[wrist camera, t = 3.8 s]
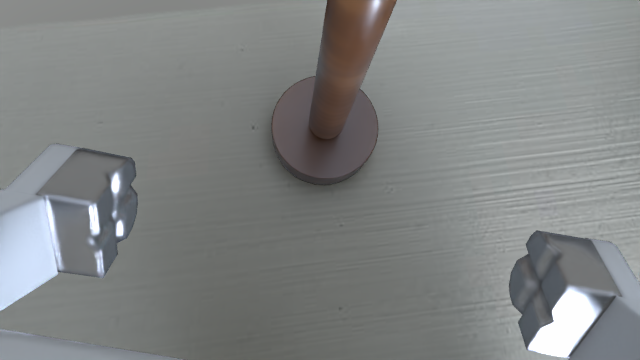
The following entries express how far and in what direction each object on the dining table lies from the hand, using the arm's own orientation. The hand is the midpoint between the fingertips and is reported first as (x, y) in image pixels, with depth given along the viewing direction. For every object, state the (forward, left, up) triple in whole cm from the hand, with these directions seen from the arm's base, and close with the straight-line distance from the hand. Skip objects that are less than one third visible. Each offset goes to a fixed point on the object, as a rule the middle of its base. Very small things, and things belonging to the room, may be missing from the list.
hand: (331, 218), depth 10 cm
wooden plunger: (0, +6, -17) cm, 18 cm away
